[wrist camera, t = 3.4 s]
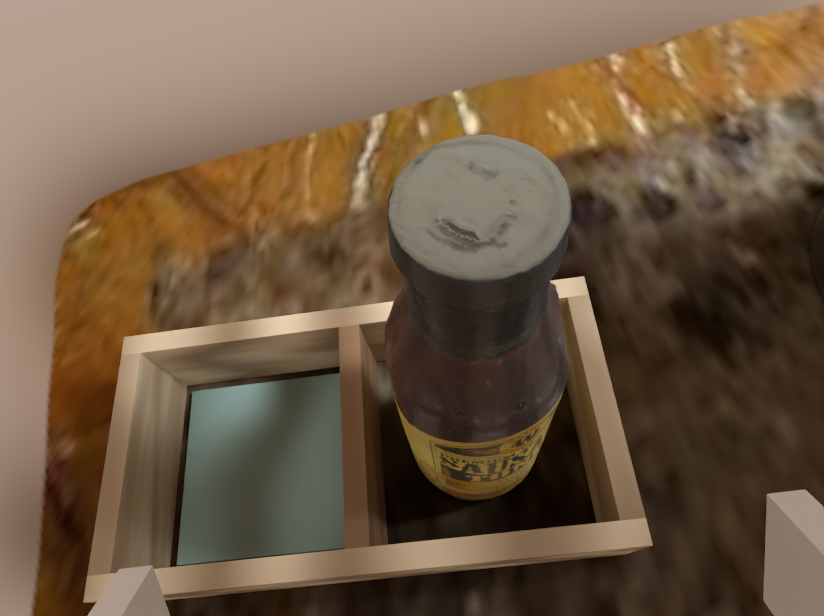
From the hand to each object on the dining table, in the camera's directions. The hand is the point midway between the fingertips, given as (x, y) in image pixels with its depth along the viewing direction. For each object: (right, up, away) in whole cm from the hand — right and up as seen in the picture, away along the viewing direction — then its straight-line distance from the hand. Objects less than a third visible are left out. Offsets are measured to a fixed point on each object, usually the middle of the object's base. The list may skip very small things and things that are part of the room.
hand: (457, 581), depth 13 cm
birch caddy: (-3, -2, +18) cm, 18 cm away
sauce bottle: (+2, -1, +18) cm, 18 cm away
